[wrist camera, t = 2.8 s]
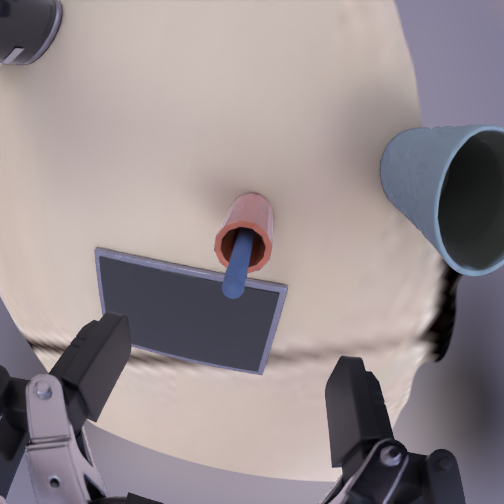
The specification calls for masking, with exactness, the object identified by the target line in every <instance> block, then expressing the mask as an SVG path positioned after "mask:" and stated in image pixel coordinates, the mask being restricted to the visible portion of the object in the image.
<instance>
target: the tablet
mask: <svg viewBox="0 0 504 504" xmlns="http://www.w3.org/2000/svg"><path fill="white" fill-rule="evenodd" d="M94 251H95V262H96V271H97V280H98V287H99V295H100V301H101V308H102V314H103V315H104V314H105V313H106V312H107V311H112V312H115V313H119V314H122V315H126V316H127V318H128V323H129V331H130V338H131V346H133V347H136V348H140V349H143V350H147V351H150V352H154V353H158V354H161V355H165V356H169V357H173V358H177V359H181V360H186V361H190V362H195V363H199V364H204V365H208V366H213V367H218V368H223V369H229V370H234V371H240V372H246V373H252V374H258V375H262V374H263V371H264V368H265V364H266V361H267V358H268V355H269V351H270V348H271V345H272V342H273V338H274V335H275V331H276V328H277V325H278V321H279V318H280V314H281V311H282V307H283V304H284V300H285V297H286V293H287V290H288V286H287V285H283V284H278V283H272V282H266V281H261V280H256V279H250V278H246V282H245V288H244V292H243V294H242V295H241V296H240V297H238V298H235V299H231V298H228V297H226V296H225V295H224V293H223V291H222V283H223V280H224V277H225V274H223V273H218V272H213V271H208V270H203V269H198V268H193V267H188V266H183V265H178V264H173V263H168V262H163V261H158V260H154V259H149V258H144V257H139V256H135V255H130V254H125V253H121V252H116V251H112V250H107V249H103V248H98V247H97V248H96V249H95V250H94Z"/></svg>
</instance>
